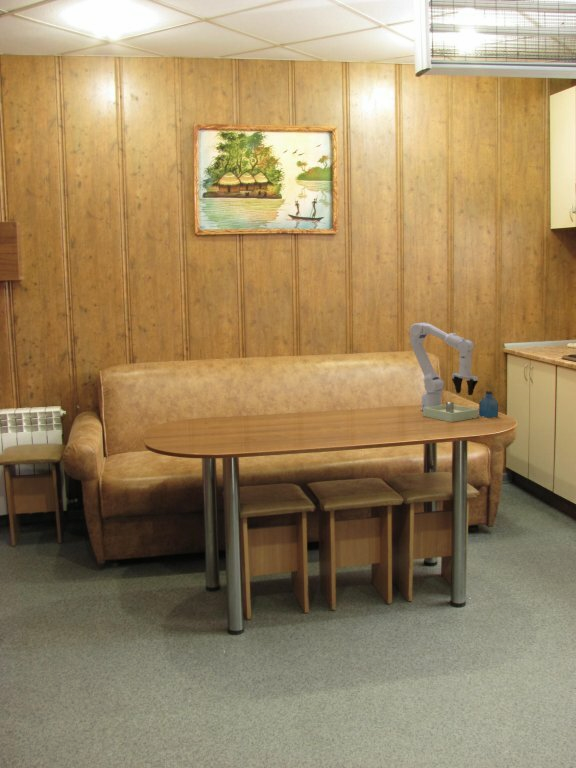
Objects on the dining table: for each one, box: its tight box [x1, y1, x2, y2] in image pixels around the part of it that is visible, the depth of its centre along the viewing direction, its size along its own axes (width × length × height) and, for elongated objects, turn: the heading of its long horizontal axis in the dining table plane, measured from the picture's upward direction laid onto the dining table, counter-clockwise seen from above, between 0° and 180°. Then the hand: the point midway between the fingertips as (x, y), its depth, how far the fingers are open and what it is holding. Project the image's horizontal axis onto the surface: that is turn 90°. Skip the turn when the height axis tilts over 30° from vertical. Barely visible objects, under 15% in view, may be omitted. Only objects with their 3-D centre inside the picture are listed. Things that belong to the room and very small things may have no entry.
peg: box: [445, 401, 455, 413], centre depth 378 cm, size 4×4×7 cm
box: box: [422, 404, 479, 423], centre depth 379 cm, size 18×18×4 cm
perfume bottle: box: [478, 390, 499, 419], centre depth 380 cm, size 6×6×12 cm
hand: (464, 393), depth 384 cm, fingers open, 7 cm apart
